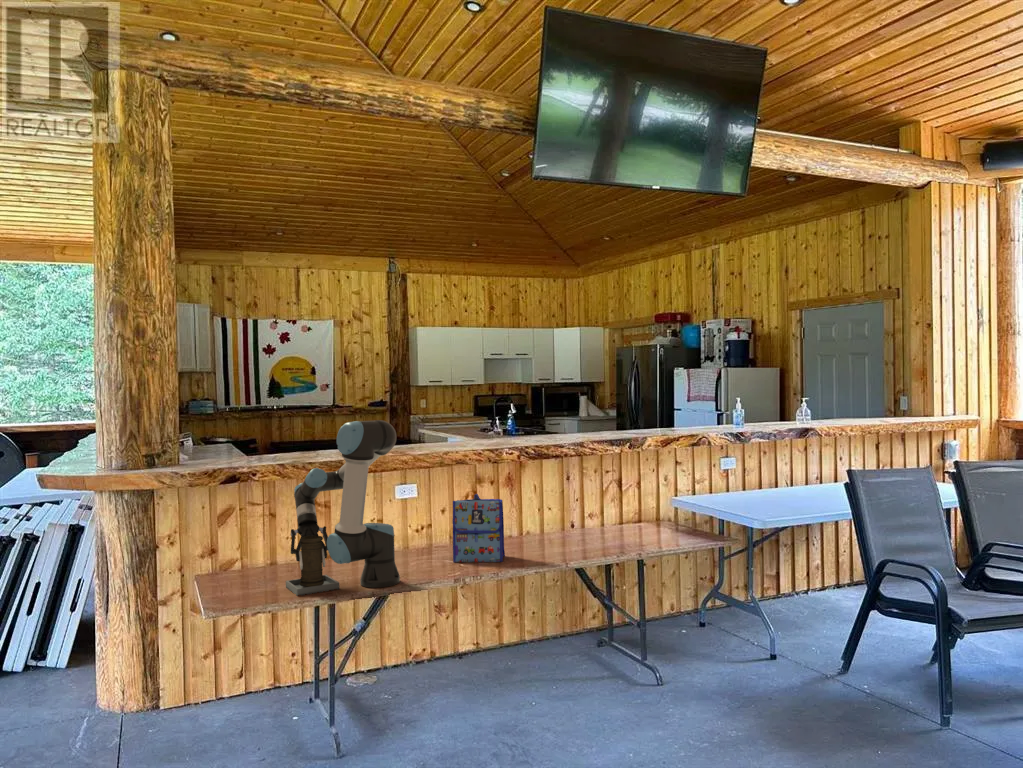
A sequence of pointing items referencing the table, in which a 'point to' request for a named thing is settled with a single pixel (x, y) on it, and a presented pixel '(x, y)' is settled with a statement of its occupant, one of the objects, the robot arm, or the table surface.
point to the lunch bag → (478, 530)
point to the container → (311, 561)
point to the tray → (300, 590)
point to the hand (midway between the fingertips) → (312, 566)
